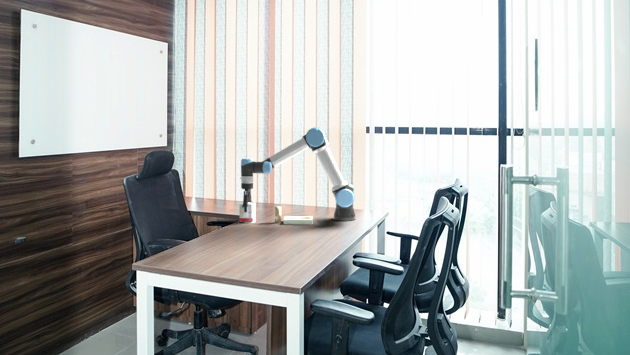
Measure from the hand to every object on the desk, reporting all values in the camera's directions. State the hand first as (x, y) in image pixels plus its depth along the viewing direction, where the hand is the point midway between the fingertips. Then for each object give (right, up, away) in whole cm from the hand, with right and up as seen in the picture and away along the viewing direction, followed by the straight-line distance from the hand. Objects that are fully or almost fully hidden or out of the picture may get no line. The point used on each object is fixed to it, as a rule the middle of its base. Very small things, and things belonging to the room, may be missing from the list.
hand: (247, 215), depth 313 cm
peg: (+20, -4, -3) cm, 21 cm away
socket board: (+33, -4, -3) cm, 33 cm away
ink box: (0, -4, +1) cm, 4 cm away
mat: (0, -4, 0) cm, 4 cm away
